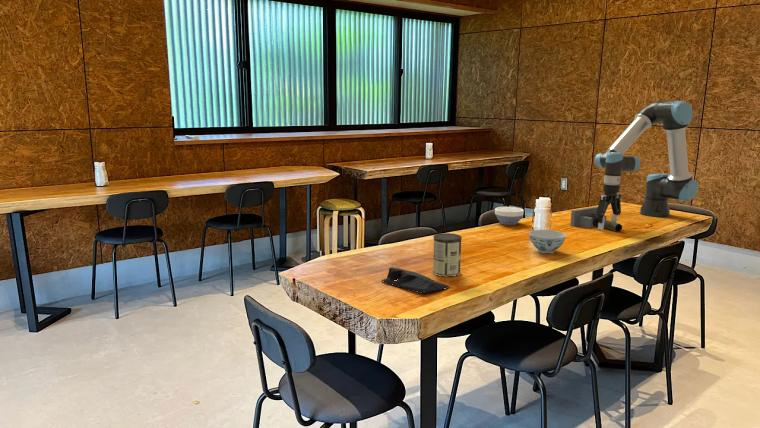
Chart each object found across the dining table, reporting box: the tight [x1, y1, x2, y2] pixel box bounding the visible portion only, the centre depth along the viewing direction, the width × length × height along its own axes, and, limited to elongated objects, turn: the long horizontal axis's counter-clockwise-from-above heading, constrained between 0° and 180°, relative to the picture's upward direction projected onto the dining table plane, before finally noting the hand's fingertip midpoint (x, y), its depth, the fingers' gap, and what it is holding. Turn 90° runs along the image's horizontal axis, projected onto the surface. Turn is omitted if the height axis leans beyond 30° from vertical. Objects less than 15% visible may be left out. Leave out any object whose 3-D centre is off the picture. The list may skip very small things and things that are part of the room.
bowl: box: [494, 206, 525, 226], centre depth 285 cm, size 14×14×8 cm
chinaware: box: [528, 229, 567, 254], centre depth 234 cm, size 15×15×8 cm
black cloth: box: [381, 267, 450, 294], centre depth 192 cm, size 15×22×5 cm
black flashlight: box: [592, 216, 623, 233], centre depth 276 cm, size 18×7×6 cm, turn 23°
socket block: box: [570, 205, 607, 229], centre depth 283 cm, size 20×9×8 cm, turn 123°
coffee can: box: [432, 232, 463, 277], centre depth 204 cm, size 10×10×14 cm
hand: (607, 228), depth 275 cm, fingers open, 10 cm apart
